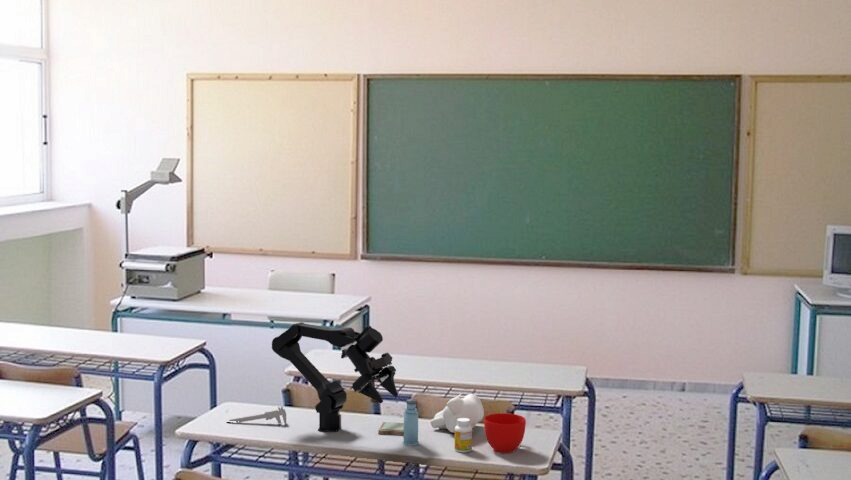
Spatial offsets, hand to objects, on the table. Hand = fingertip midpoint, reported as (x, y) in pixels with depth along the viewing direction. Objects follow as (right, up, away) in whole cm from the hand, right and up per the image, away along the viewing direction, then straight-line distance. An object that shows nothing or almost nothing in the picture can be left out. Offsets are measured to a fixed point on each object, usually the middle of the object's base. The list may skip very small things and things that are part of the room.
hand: (389, 399), depth 323 cm
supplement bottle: (+23, -15, -9) cm, 29 cm away
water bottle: (+7, -14, -3) cm, 15 cm away
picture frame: (+2, -12, +12) cm, 17 cm away
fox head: (+21, -13, +12) cm, 27 cm away
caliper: (-46, -11, +19) cm, 51 cm away
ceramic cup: (+37, -14, -7) cm, 40 cm away
